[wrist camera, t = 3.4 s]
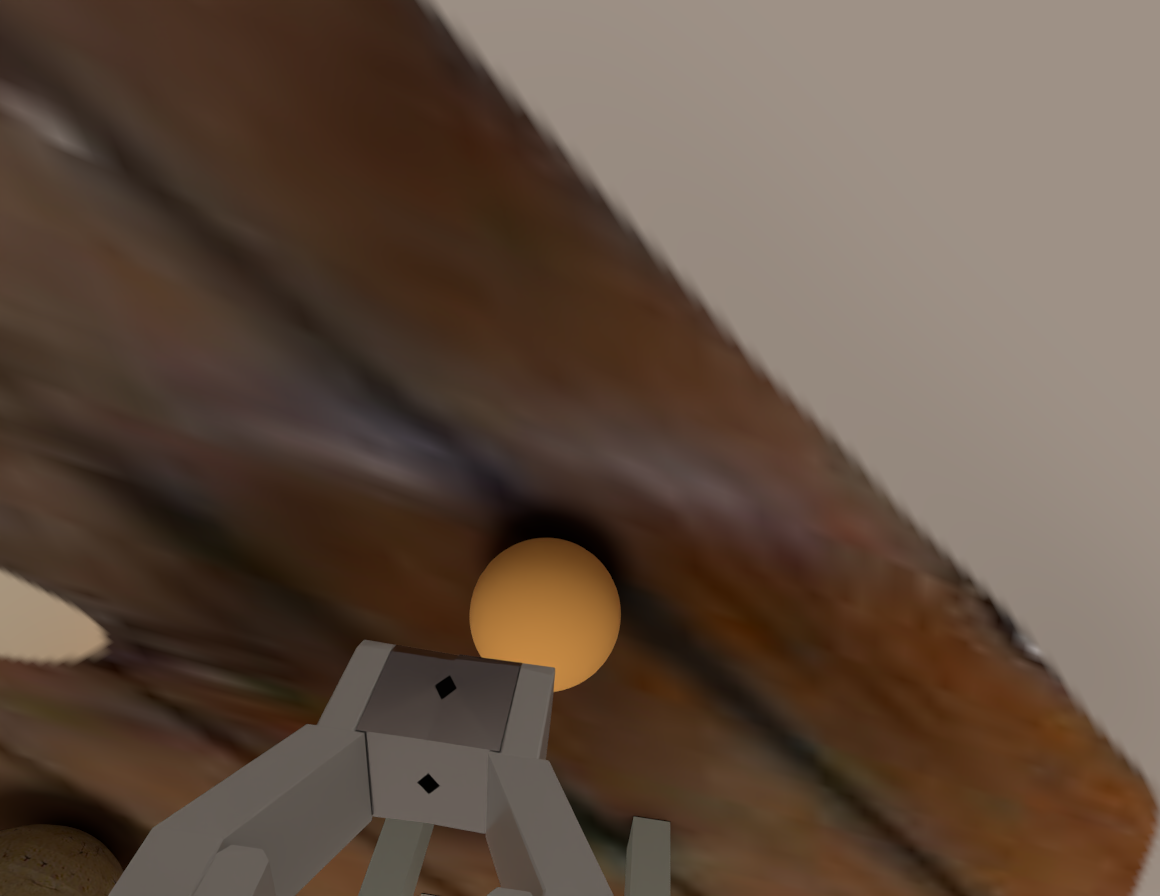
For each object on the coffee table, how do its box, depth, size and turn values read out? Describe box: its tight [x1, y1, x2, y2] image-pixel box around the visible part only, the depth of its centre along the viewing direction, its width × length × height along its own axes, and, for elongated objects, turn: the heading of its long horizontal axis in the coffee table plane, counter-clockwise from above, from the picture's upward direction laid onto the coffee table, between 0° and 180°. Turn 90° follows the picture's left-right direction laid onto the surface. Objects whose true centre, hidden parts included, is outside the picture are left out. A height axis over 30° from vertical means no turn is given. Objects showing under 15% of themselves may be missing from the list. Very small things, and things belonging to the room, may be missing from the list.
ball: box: [470, 538, 621, 692], centre depth 29 cm, size 6×6×6 cm
